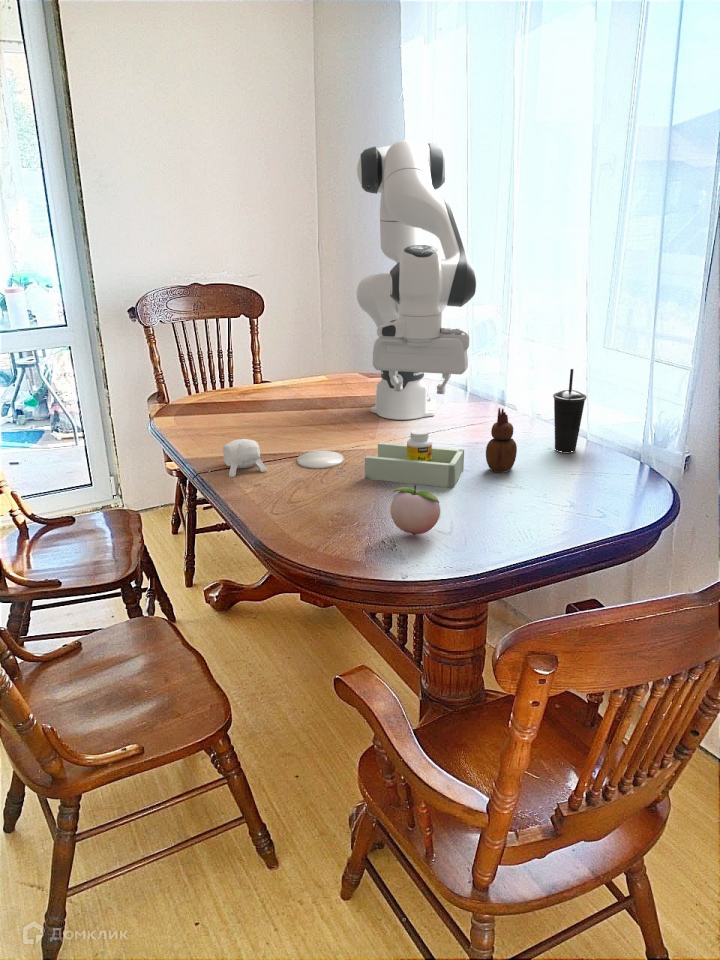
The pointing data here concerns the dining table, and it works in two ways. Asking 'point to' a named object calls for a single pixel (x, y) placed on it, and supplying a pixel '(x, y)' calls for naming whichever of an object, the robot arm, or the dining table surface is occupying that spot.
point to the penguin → (242, 455)
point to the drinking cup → (567, 417)
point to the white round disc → (320, 459)
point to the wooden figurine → (501, 445)
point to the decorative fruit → (414, 510)
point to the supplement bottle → (419, 446)
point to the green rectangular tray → (415, 466)
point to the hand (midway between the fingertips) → (419, 392)
